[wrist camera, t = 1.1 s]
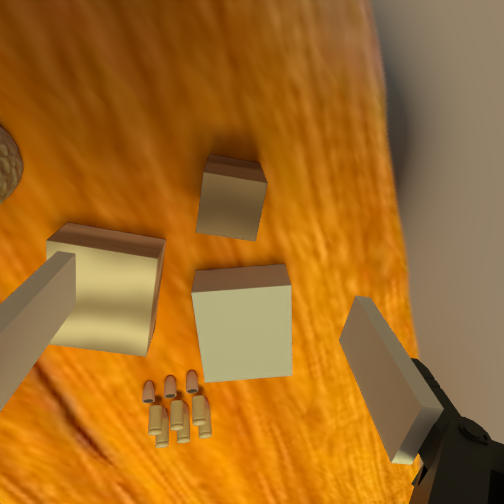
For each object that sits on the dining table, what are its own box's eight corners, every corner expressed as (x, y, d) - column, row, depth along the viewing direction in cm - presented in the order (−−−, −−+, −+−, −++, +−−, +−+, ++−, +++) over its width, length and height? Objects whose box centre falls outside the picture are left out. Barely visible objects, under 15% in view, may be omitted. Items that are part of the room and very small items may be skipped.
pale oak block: (69, 221, 37) (46, 240, 32) (166, 238, 38) (157, 258, 33) (68, 316, 41) (48, 344, 37) (155, 328, 43) (146, 356, 38)
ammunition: (213, 441, 45) (193, 397, 41) (157, 453, 45) (133, 410, 42) (215, 409, 49) (197, 367, 45) (164, 421, 49) (142, 380, 46)
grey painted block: (196, 269, 40) (191, 292, 35) (284, 262, 40) (291, 285, 35) (207, 352, 45) (205, 382, 40) (286, 346, 45) (292, 375, 40)
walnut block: (209, 154, 34) (203, 172, 27) (260, 163, 35) (267, 183, 27) (202, 203, 36) (195, 232, 29) (250, 211, 37) (255, 241, 30)
